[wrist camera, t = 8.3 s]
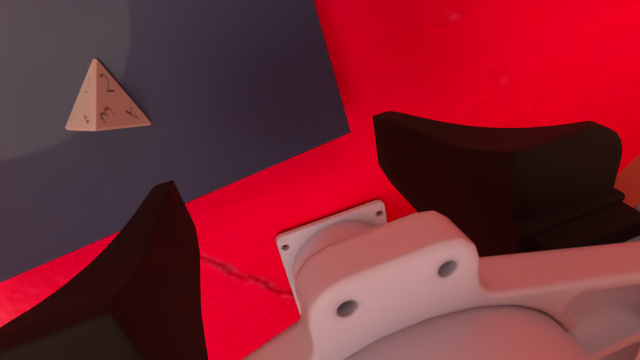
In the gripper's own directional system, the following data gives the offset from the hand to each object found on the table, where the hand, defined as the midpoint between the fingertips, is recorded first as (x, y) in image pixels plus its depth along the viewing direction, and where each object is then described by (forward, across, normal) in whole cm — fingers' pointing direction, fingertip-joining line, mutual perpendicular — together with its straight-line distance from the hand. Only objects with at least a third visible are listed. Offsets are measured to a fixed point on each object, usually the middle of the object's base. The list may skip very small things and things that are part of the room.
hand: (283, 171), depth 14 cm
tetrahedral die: (+7, +6, -2) cm, 9 cm away
